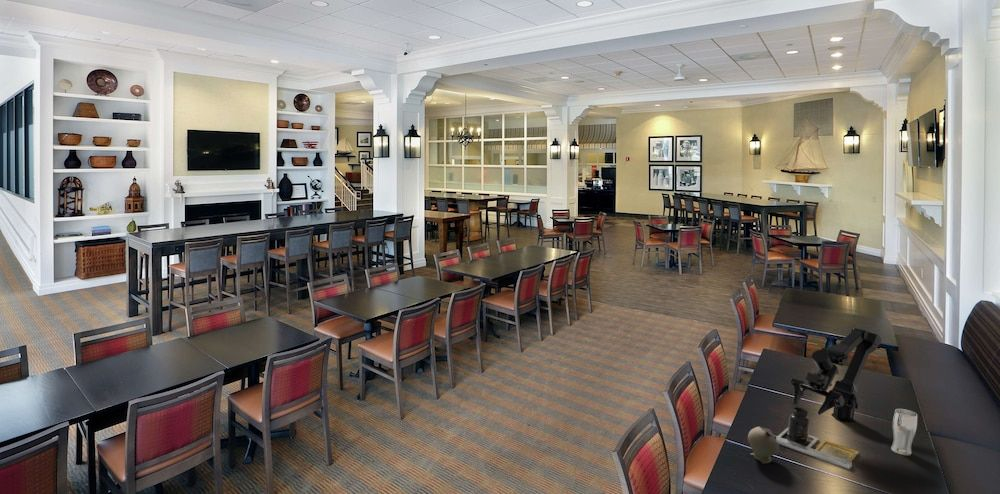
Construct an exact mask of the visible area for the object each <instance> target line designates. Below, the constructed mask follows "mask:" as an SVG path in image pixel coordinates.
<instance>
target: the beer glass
mask: <svg viewBox="0 0 1000 494" xmlns="http://www.w3.org/2000/svg"><path fill="white" fill-rule="evenodd" d="M917 427H918V414H917V412H915V411H913V410H909V409H906V408H905V409H904V408H895V410H894V415H893V418H892V433H893V441H892V444H891V447H890V449H891V451H892V452H894V453H896V454H898V455H901V456H911V455H912V454H913V453H912V443H913V440H914V438H915V435H916V433H917V432H916V431H917Z"/></svg>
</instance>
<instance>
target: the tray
mask: <svg viewBox="0 0 1000 494" xmlns="http://www.w3.org/2000/svg"><path fill="white" fill-rule="evenodd" d="M786 434H788V427H786V428H785V429H784V430H782V432H781V433H779V434H778V435H775V436H776V437H777V439H776V441H777V443H778V444H779V446H783V447H786V448H788V449H791V450H793V451H796V452H800V453H802V454H805V455H807V456H811V457H813V458H817V459H819V460H822V461H825V462H828V463H830V464H833V465H836V466H838V467H842V468H844V469H847V470H850V469H852V466H853V460H854V459H855V458H856V457H857V456H858V455H859V451H858V450H855V449H853V448H849V447H847V446H843V445H839V444H837V443H835V442H832V441H829V440H826V439H824V440H822V442H821V443H820V444H819V445H818V446H817V447H816V448H815V449H814V448H812V447H813V446H814V445H815V444H816V443H817V442H818V441H819V437H817V436H814V435H810V434H808V439H812V441H811V442H810V443H809V444H807V446H806V445H804V444H801V443H795V442H793V441H791V440H790V439H788V438H783V436H785V435H786Z"/></svg>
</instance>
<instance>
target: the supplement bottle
mask: <svg viewBox="0 0 1000 494" xmlns="http://www.w3.org/2000/svg"><path fill="white" fill-rule="evenodd" d="M810 423H811V421H810V419H809V418H808V410H807V409H806V408H803V407H797V406H796V407H793V409H792V414H790V415H789V418H788V427H787V428H788V432H787V439H788V440H790V441H792V442H795V443H798V444H801V445H804V444H806V443H808V441H809V440H808V439H809V438H808V435H809V431H810Z"/></svg>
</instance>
